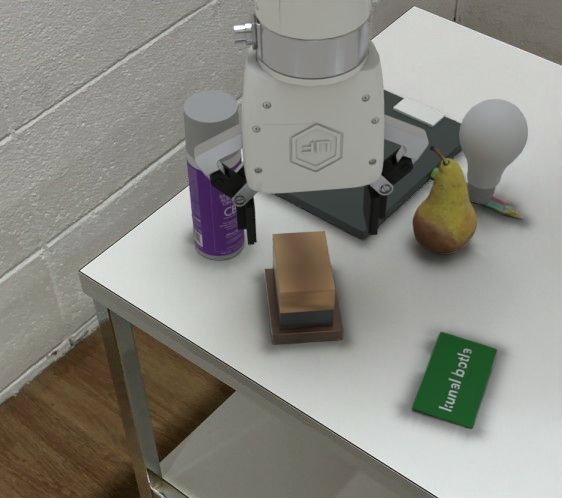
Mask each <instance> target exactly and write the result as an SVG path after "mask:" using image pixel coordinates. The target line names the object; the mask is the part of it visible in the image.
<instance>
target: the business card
mask: <svg viewBox="0 0 562 498" xmlns="http://www.w3.org/2000/svg"><path fill="white" fill-rule="evenodd" d="M497 352H498V348H496V347H492V346H489V345H487V344H483V343H479V342H476V341H473V340H470V339H467V338H464V337H461V336H457V335H454V334H451V333H448V332H444V331H440V332H439V334H438V337H437V339H436V342H435V345H434V348H433V350H432V353H431V356H430V359H429V361H428V364H427V367H426V369H425V372H424V373H423V374H424V375H423V377H422V380H421V382H420V385H419V388H418V391H417V394H416V395H415V398H414V402H413V404H412V408H411V409H412V410H414V411H416V412H419V413H422V414H425V415H428V416H431V417H433V418H434V417H435V418H438V419H440V420H444V421H447V422H449V423H452V424H455V425H458V426H461V427H465V428H466V429H473V428H474V425H475V423H476V419H477V417H478V413H479V409H480V406H481V403H482V400H483V396H484V393H485V390H486V387H487V385H488V381H489V377H490V375H491V371H492V368H493V365H494V362H495V360H496V359H495V358H496V355H497Z"/></svg>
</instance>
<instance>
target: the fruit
mask: <svg viewBox="0 0 562 498" xmlns="http://www.w3.org/2000/svg"><path fill="white" fill-rule="evenodd" d="M430 150H431V151H434V152H435V153H436V154H437V155H438V156H439V157H440V158H441V159H442V161H441V164H440V167H439V170H438V172H437V174H436V176H435V179H433V183H432V186H431V188H430V190H429V193H428V195H427V197H426V198H424V200H422V202H421V203H420V204H419V205H418V207H416V209H415V211H414V214H413V218H412V229H413V235H414V237H415V240H416V241H417V243H418V244H419V245H420V246H421V247H423V248H424V249H426V250H428V251H429V252H431V253H435V254H440V255H450V254H453V253H457V252H458V251H460V250H461V249H463V248H464V247H465V246H466V245H467V244H468V243H469V242H470V241H471V240H472V238H473V237H474V235H475V233H476V232H477V231H476V230H477V227H478V220H477V214H476V211H475V209H474V207H473V205H472V203H471V200H470V199H469V195H468V190H467V185H466V183H467V181H466V177H465V174H464V171H463V169H462V167H461V165H460V164H459V163H458V162H457V161H456V160H454V159H453V158H451V159H449V158H446V159H445V158H444V157H443V156H442V155H441V153H440V152H439V150H438V149H437V148H436V147H434V146H431V147H430Z"/></svg>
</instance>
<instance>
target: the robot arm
mask: <svg viewBox="0 0 562 498" xmlns="http://www.w3.org/2000/svg"><path fill="white" fill-rule="evenodd" d="M371 10H372V0H253V13H251V14H250V15H249V19H244V21H241V22H240V21H239V22H233V23H232V24H233V25H232V26H233V39H234V40H233V41H234V45H240V44H241V45H242V44H245V45H246V46H250V47H249V48H248V50H247V55H246V60H245V66H244V72H243V82H242V92H241V112H240V113H241V117H240V118H241V119H240V121H241V122H239V124H237V125H235V126H233V127H232V128H230V129H228V130H226V131H224V132H222V133H220V134H218V135H216V136H214V137H212V138H210V139H208V140H207V141H205V142H203V143H201V144H199V145H197V146H196V147H195V148H194V161H195V163H196V165H197V166H198V167H199V168H200V170H201V171H202V172H203V173H204V175H205V176H207V177H208V179H209V180H210V183H211V185H212V186H213V187H215V188H216V189H218V190H219V191H221V192H222V193H224V194H225V195H227V196H228V197H230V198H231V199H232V203H233V204H234V205H235V206H236V215H237V227H238V230H244V231H245V232H246V239H247V240H246V241H247V245H248V246H252V245H255V244H256V243H258V241H257V239H258V238H257V222H256V218H257V217H256V204H255V198H254V197H255V196H256V195H257V194H258V193H259V194H269V195H270V194H271V195H272V194H273V195H275V194H274V193H291V192H304V191H317V190H330V189H343V188H354V187H361V186H364V199H363V214H364V219H365V223H366V228H367V232H368V234H369V235H370V236H377V235H378V232H379V226H378V220H379V219H385V215H386V204H387V195H389V194H390V193H391V192H392V191H393V185H395V184H396V183H397V182H398V181H399V180H401V179H402V178H403V177H404V176H406V175H407V174H408V173H409V172H411V171H412V169H413V164H414V163H415V161H417V160H418V159H419V157H420V156H421V154H422V153H423V152H424V150H425V149H426V147H427V146H428V144H429V142H428V138H427V135H426V132H425V130H424V129H422V128H419V127H416V126H414V125H411V124H408V123H406V122H403V121H401V120H398V119H395V118H393V117H390V116H387V115H385V114H384V90H385V89H384V77H383V69H382V62H381V57H380V53H379V51H378V50H377V47H376V45H375V43H374V42H373V41H372V40H371V39H370V25H371ZM384 139H386V140H388V141H391V142H394V143H396V144H399V145H401V148H399V149H398V150H396V151H395V152H394V153H392V154H391V155H390V156H389V157H388V158H386V159H385V160H383V159H384ZM240 149H241V151H242V163H241V164H240V165H239V166H238V167H237V168H236V169H235V170H234V171H233V170H232V169H230V168H229V167H228V166H226V165H225V164H223V163H221V162H220V161H219V160H221V159H223V158H225V157H226V156H228V155H230V154H232V153H234V152H236V151H238V150H240ZM385 220H386V219H385Z"/></svg>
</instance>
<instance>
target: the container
mask: <svg viewBox="0 0 562 498" xmlns="http://www.w3.org/2000/svg"><path fill="white" fill-rule="evenodd" d="M182 108H183V109H182V111H183V123H184V124H183V125H184V139H185V141H184V142H185V157H186V168H187V178H188V179H187V180H188V188H189V189H188V190H189V199H190V209H191V220H192V231H193V240H194V247H195V250H196V252H197V253H198V254H199V255H201V256H202V257H204V258H206V259H209V260H214V261H224V260H229V259H231V258H234V257H236V256H237V255H239V254H240V253H241V252H242V250H244V248H245V243H246V241H245V230H238V227H237V215H236V206H235V205H234V204H233V203H232V199H231V198H230V197H228V196H227V195H225V194H224V193H222V192H221V191H219V190H218V189H216V188H215V187H213V186H212V185H211V183H210V180H209V179H208V177H207V176H205V175H204V173H203V172H202V171H201V170H200V168H199V167H198V166H197V165H196V163H195V161H194V148H195V147H196V146H197V145H199V144H201V143H203V142H205V141H207V140H208V139H210V138H212V137H214V136H216V135H218V134H220V133H222V132H224V131H226V130H228V129H230V128H232V127H233V126H235V125H237V124H239V123H240V117H239V103H238V101H237V99H236V98H235V97H234V96H233V95H231V94H230V93H228V92H225V91H221V90H217V89H208V90H202V91H198V92H196V93H193V94H192V95H190V96H189V97H187V98H186V100H184V102H183V106H182ZM219 161H220V162H221V163H223V164H225V165H226V166H228V167H229V168H230V169H232V170H233V171H234V170H235V169H236V168H237V167H238V166H239V165H240V164H241V163H242V162H243V156H242V149H240V150H238V151H236V152H234V153H232V154H230V155H228V156H226V157H225V158H223V159H221V160H219Z"/></svg>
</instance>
